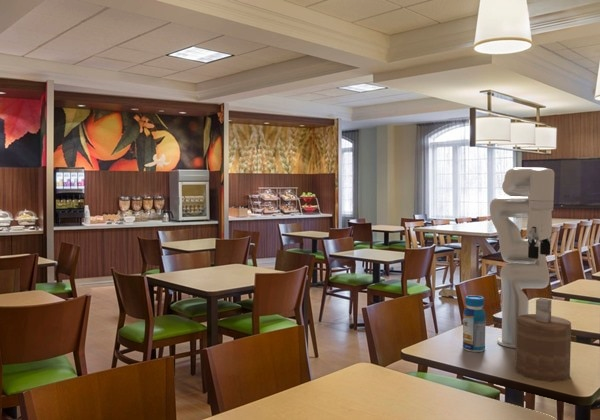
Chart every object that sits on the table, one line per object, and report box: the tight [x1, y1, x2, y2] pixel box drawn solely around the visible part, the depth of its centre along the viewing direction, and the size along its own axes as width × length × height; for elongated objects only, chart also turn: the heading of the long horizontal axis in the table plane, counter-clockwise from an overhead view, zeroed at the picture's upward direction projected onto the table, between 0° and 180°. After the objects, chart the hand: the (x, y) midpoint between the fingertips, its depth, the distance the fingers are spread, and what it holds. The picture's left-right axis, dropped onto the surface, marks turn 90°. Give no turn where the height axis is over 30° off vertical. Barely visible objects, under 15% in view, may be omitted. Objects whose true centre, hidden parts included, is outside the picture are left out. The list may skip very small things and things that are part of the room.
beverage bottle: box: [462, 294, 487, 353], centre depth 206 cm, size 8×8×20 cm
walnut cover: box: [515, 297, 572, 382], centre depth 182 cm, size 17×17×24 cm
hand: (539, 256), depth 184 cm, fingers open, 9 cm apart
